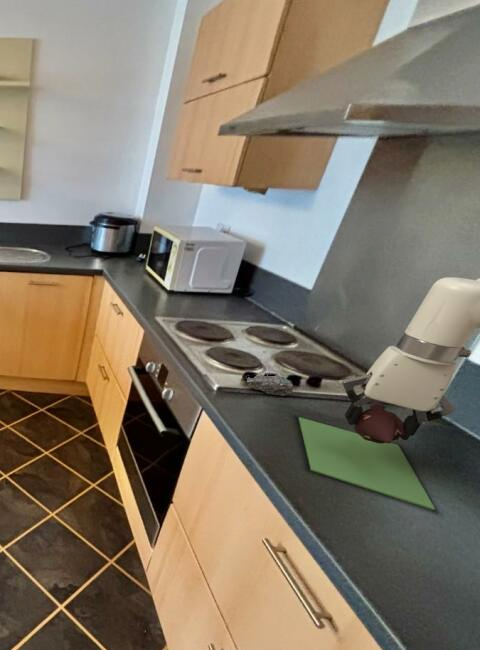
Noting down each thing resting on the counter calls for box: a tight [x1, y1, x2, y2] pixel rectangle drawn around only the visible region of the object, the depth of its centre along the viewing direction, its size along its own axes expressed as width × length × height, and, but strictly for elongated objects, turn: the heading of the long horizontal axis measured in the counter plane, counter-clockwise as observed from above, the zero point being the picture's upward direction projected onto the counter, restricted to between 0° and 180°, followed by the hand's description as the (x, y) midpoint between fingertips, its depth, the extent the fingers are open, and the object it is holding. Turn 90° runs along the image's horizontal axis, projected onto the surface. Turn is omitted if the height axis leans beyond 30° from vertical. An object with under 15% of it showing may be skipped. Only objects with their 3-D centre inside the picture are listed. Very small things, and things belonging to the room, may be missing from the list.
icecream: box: [354, 401, 404, 444], centre depth 81 cm, size 7×7×15 cm
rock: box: [246, 373, 294, 397], centre depth 109 cm, size 8×10×4 cm
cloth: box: [298, 416, 436, 511], centre depth 85 cm, size 18×22×1 cm
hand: (375, 428), depth 82 cm, fingers closed on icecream, 7 cm apart
